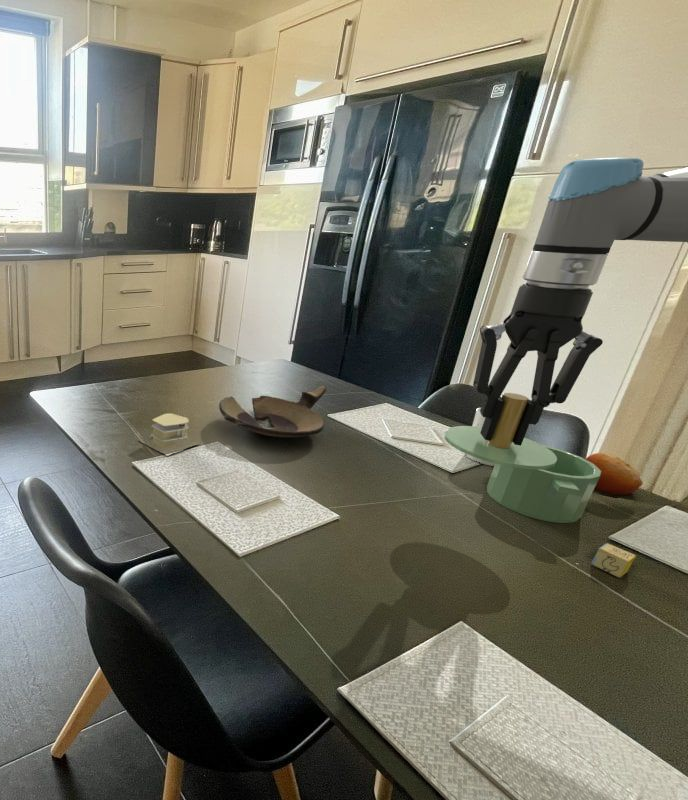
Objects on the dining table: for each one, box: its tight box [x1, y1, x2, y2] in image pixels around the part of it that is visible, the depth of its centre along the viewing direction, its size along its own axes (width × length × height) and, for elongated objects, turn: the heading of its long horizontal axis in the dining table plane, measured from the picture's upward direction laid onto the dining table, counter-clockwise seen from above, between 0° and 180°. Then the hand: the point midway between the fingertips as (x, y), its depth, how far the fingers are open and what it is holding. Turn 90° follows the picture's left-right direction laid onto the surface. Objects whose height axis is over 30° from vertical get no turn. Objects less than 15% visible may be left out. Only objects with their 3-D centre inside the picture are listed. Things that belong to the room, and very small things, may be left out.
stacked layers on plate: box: [150, 412, 190, 448], centre depth 104 cm, size 10×9×6 cm
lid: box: [443, 392, 557, 470], centre depth 74 cm, size 14×14×9 cm
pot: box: [486, 444, 601, 524], centre depth 84 cm, size 13×18×8 cm
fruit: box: [584, 452, 644, 499], centre depth 88 cm, size 8×8×8 cm
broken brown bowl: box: [218, 385, 328, 438], centre depth 111 cm, size 22×30×8 cm
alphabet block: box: [590, 542, 637, 579], centre depth 69 cm, size 3×3×3 cm
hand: (500, 438), depth 75 cm, fingers closed on lid, 3 cm apart
